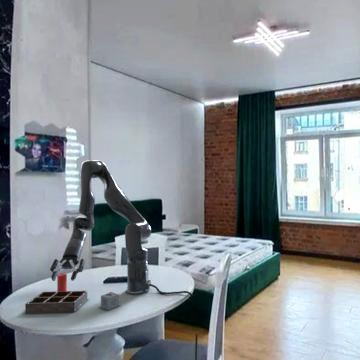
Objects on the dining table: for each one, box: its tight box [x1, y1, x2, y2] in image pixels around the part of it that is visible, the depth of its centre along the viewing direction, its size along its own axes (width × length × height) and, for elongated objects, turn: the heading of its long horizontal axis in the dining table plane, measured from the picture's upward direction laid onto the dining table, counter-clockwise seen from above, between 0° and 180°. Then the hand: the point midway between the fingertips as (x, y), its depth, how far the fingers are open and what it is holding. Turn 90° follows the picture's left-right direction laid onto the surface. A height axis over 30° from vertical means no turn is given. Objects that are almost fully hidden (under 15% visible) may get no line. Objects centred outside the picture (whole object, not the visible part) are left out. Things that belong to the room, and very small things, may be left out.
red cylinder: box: [56, 273, 68, 291], centre depth 144 cm, size 4×4×9 cm
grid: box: [24, 290, 88, 314], centre depth 131 cm, size 19×13×4 cm
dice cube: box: [100, 291, 120, 311], centre depth 130 cm, size 5×5×5 cm
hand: (62, 280), depth 145 cm, fingers open, 8 cm apart
